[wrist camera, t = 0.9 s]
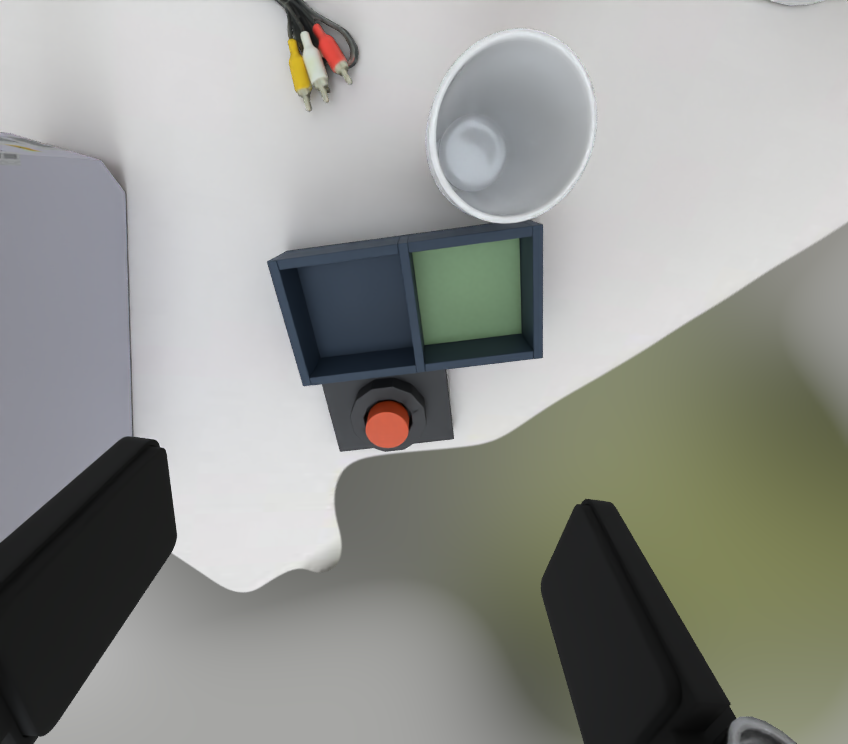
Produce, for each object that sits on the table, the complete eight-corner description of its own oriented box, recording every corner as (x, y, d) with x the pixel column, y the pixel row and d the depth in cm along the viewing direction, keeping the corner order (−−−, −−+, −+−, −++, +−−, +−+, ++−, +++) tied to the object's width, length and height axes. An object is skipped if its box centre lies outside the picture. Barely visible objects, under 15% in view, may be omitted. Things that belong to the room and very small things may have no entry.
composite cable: (225, -52, 24) (205, -75, 22) (291, -101, 23) (277, -130, 21) (314, 120, 28) (305, 114, 26) (374, 83, 27) (370, 74, 25)
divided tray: (526, 218, 31) (543, 224, 27) (528, 337, 35) (542, 358, 31) (286, 250, 32) (266, 261, 28) (316, 363, 36) (302, 386, 32)
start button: (405, 398, 34) (405, 409, 33) (411, 432, 36) (411, 445, 34) (364, 402, 34) (361, 414, 33) (372, 437, 36) (369, 450, 34)
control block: (444, 355, 36) (446, 372, 33) (452, 429, 39) (455, 451, 36) (324, 369, 36) (315, 387, 33) (342, 441, 40) (336, 464, 37)
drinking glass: (534, 129, 28) (637, 84, 15) (487, 221, 31) (539, 253, 18) (449, 80, 27) (478, -19, 14) (408, 180, 30) (398, 180, 16)
